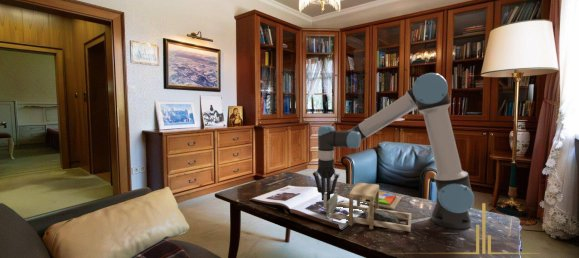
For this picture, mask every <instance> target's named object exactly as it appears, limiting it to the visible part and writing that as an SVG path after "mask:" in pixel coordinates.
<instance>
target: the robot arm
mask: <svg viewBox="0 0 579 258" xmlns="http://www.w3.org/2000/svg"><path fill="white" fill-rule="evenodd" d="M448 89H449V85H448V82H447V80H446V78H445V77H444V76H443V75H441V74H439V73H435V72H428V73H425V74H422V75H421V76H419V77H418V78H417V79H416V80H415V81H414V83H413V86H412V87H410V89H408V90H406V92H405V93H404V95H402V96H401V97H399V98H398V99H396V100H394V101H393V102H392V103H390V104H388V105H387V106H385V107H383V108H382V109H380V110H379V111H378V112H376V113H373V115H371V116H370V117H368V118H366V119H365V120H363V121H362V122H360V123H358V124H356V125H355V126H354V127H352V128H351V129H347V130H336V129H335V127H334V126H332V125H321V126H319V127H318V129H317V130H318V132H317V146H318V147H317V158H318V160H317V170H316V171H314V172H312V176H313V177H314V179H315V180H314V181H315V185H316V189H317V193H319V194H321V201H322V202H323V209H326V203H327V202H328V200H329V199H330V198H331V195H334V194H335V190H336V185H337V183H338V179H339V177H340V176H341V175H340V173H337V172H336V170H335V148H348V149H359V148H360V147H361V143H362V141H364V140H365V139H367V138H368V137H370V136H371V135H373V134H375V133H377V132H379V131H380V130H382V129H383V128H385V127H387V126H389V125H391V124H392V123H393V122H395V121H397V120H399V119H401V118H402V117H404V116H405V115H407V114H408V113H410V112H413V110H415V109H416V110H417V111H418V112H419V113H420V114H422V115H423V118H424V123H425V127H426V128H425V129H426V132H427V135H428V140H429V144H430V147H431V152H432V155H433V156H432V157H433V161H434V165H435V168H436V172H437V173H435V175H434V177H433V178H434V183H435V188H436V201H435V204H434V207H433V209H432V211H431V214H430V219H431V221H432V222H434V223H435V224H436V225H439V226H442V227H444V228H448V229H454V230H455V229H456V230H457V229H458V230H464V229H469V228H470V227H472V219H471V215H470V213H469V210H471V209H472V208H473V206H474V204H475V194H474V192H473V190H472V187H471V183H470V177H469V172H467V171H464V170H463V169H462V163H461V159H460V155H459V152H458V148H457V143H456V139H455V135H454V131H453V127H452V122H451V119H450V114H449V110H448V109H449V107H450V106H451V105H452V102H451V98H450V94H449V90H448ZM332 178H333V182H332V185H331V181H332Z"/></svg>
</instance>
